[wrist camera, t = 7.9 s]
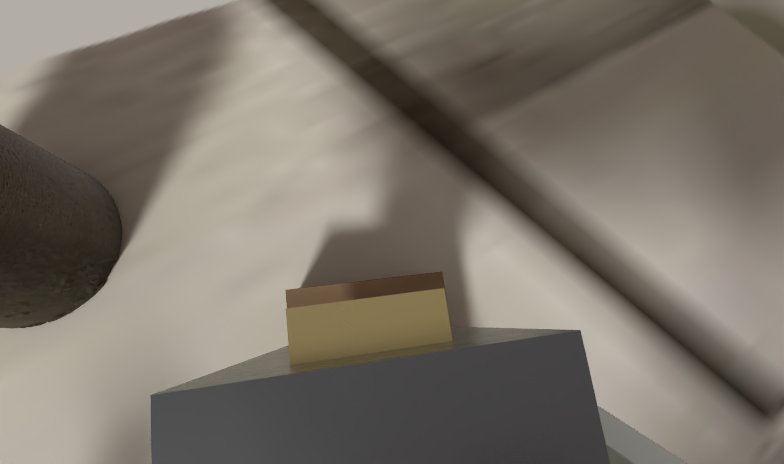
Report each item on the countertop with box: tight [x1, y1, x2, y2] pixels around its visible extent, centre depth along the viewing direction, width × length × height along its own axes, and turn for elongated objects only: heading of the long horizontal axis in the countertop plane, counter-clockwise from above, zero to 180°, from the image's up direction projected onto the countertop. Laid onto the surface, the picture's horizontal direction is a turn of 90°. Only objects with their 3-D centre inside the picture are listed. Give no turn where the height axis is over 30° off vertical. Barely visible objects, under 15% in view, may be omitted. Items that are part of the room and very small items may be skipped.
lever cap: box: [151, 288, 610, 464], centre depth 10 cm, size 4×5×12 cm
